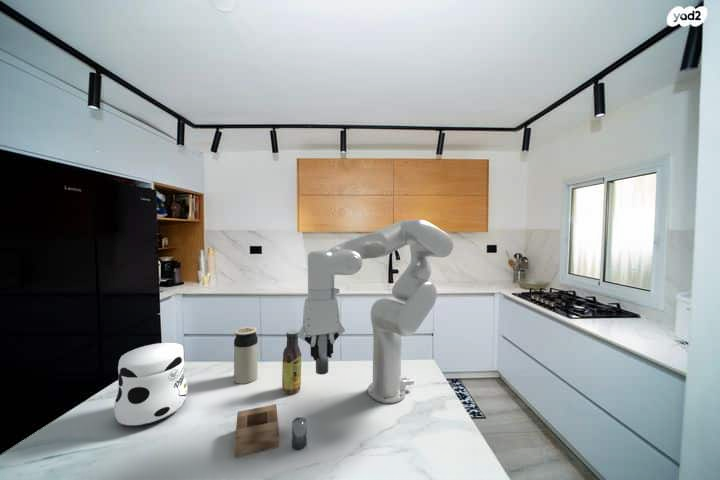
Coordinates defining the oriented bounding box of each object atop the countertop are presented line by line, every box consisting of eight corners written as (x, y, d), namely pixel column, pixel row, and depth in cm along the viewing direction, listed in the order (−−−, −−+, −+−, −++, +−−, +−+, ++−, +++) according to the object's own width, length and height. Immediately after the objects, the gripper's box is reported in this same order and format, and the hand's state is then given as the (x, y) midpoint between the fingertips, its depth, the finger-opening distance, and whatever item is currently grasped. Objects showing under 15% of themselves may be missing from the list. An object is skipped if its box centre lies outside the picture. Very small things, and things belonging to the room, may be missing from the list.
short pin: (305, 438, 73) (305, 415, 73) (307, 448, 70) (307, 424, 70) (291, 441, 72) (291, 418, 72) (292, 452, 69) (293, 427, 68)
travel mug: (252, 384, 99) (252, 334, 98) (229, 384, 99) (230, 333, 98) (260, 373, 107) (260, 326, 106) (239, 373, 107) (240, 326, 106)
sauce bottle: (296, 396, 92) (296, 336, 91) (278, 394, 93) (278, 334, 93) (304, 386, 98) (304, 329, 98) (287, 383, 100) (287, 328, 99)
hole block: (276, 421, 80) (276, 404, 79) (278, 446, 70) (278, 427, 70) (237, 429, 76) (237, 411, 76) (234, 457, 67) (234, 436, 67)
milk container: (200, 404, 87) (200, 347, 87) (136, 441, 71) (136, 371, 71) (165, 390, 94) (165, 337, 94) (101, 421, 79) (100, 358, 78)
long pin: (326, 367, 83) (326, 327, 83) (329, 373, 80) (329, 331, 79) (314, 369, 82) (314, 328, 81) (317, 375, 79) (316, 333, 78)
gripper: (345, 289, 86) (345, 347, 87) (290, 293, 81) (291, 356, 81) (353, 294, 79) (353, 358, 80) (293, 299, 74) (294, 368, 74)
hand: (321, 356), depth 81 cm, fingers closed on long pin, 3 cm apart
